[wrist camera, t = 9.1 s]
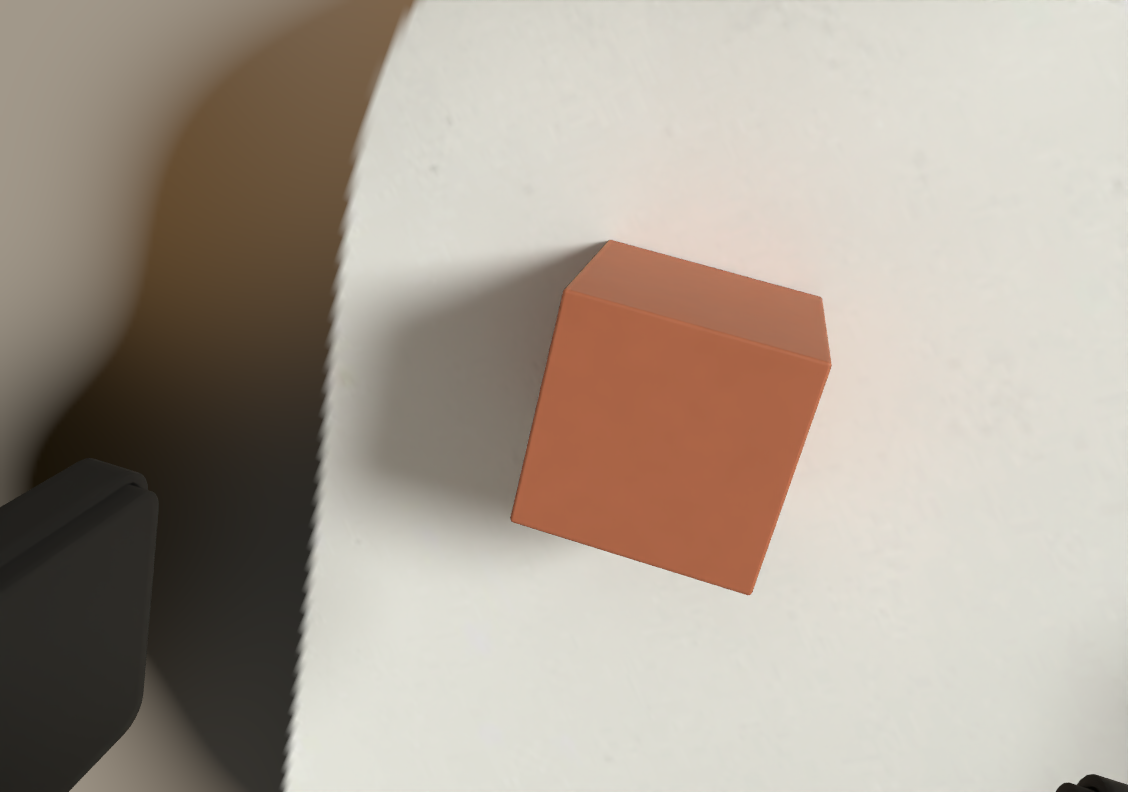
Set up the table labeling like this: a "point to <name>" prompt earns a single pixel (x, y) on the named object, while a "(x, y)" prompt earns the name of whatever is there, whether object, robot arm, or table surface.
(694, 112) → the table surface
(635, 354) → the block
